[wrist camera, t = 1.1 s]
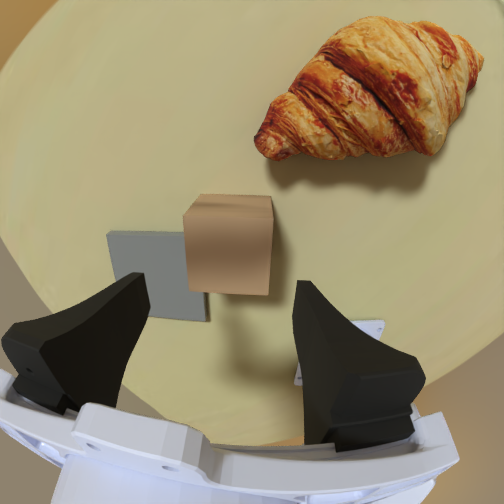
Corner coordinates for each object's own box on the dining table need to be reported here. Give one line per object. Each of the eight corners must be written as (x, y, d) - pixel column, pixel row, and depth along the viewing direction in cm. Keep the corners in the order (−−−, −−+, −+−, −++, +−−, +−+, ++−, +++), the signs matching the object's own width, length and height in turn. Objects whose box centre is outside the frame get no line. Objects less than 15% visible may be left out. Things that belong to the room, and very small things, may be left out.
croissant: (430, 35, 15) (449, -19, 7) (499, 118, 13) (543, 80, 6) (240, 120, 20) (196, 64, 12) (308, 230, 18) (296, 219, 11)
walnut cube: (266, 258, 21) (268, 295, 17) (203, 255, 21) (189, 291, 17) (270, 195, 19) (273, 218, 15) (200, 193, 19) (182, 216, 15)
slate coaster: (206, 315, 24) (205, 321, 23) (127, 307, 24) (124, 313, 23) (201, 232, 20) (199, 236, 20) (110, 230, 21) (106, 234, 20)
